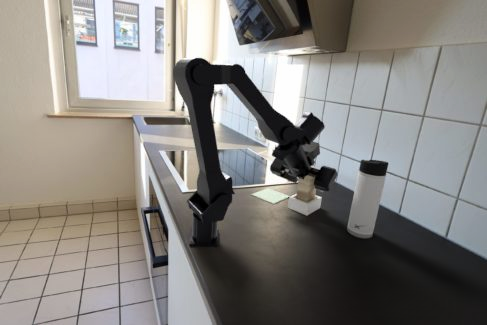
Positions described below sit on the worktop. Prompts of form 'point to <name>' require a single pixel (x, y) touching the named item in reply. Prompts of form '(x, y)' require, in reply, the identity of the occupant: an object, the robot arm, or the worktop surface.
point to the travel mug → (367, 198)
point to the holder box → (304, 205)
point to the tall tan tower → (306, 189)
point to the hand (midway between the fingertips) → (309, 186)
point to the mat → (270, 196)
